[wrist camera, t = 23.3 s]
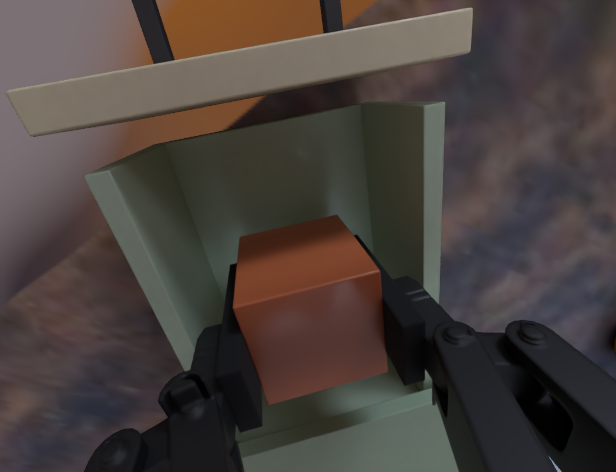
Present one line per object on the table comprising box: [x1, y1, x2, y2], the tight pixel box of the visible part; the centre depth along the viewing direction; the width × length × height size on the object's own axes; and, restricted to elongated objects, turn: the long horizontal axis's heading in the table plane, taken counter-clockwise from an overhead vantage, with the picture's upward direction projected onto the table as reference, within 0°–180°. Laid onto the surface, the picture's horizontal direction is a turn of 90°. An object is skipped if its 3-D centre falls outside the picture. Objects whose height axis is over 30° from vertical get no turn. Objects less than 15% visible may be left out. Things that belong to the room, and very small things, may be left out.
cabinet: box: [238, 388, 459, 472], centre depth 23 cm, size 20×15×10 cm
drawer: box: [6, 0, 473, 444], centre depth 14 cm, size 25×13×8 cm, turn 10°
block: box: [233, 215, 388, 405], centre depth 13 cm, size 5×5×6 cm
